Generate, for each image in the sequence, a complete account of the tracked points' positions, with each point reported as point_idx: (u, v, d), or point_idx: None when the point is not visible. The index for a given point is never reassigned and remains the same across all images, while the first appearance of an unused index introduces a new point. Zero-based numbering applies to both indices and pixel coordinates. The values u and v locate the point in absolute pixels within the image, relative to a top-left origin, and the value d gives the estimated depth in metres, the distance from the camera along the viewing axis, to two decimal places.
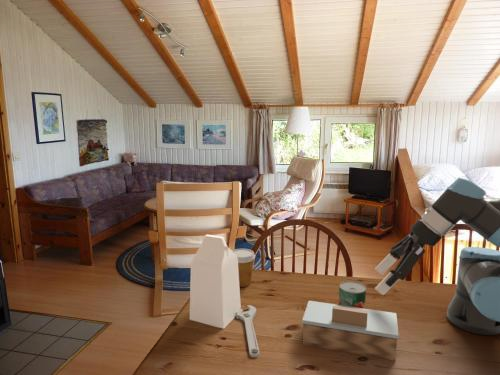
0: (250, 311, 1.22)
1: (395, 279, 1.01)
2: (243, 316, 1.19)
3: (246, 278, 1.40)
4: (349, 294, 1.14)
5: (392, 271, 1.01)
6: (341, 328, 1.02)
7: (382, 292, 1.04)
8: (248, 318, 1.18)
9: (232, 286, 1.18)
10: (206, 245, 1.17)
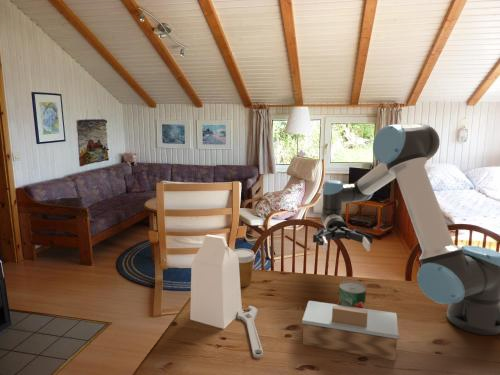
0: (251, 312, 1.21)
1: (319, 239, 1.30)
2: (244, 317, 1.18)
3: (246, 278, 1.40)
4: (349, 294, 1.14)
5: (318, 243, 1.32)
6: (341, 328, 1.02)
7: (324, 244, 1.25)
8: (250, 319, 1.17)
9: (233, 286, 1.18)
10: (206, 245, 1.17)
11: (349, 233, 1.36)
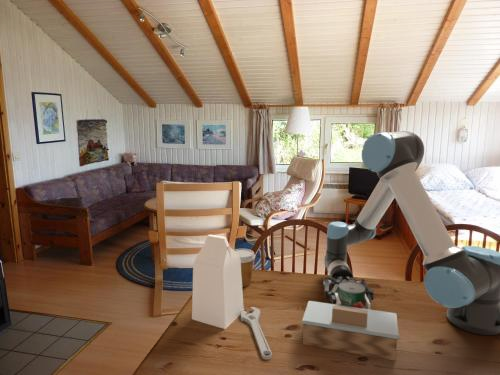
0: (254, 313, 1.20)
1: (331, 296, 1.19)
2: (248, 318, 1.17)
3: (246, 278, 1.40)
4: (348, 294, 1.14)
5: (330, 300, 1.21)
6: (341, 328, 1.02)
7: (338, 304, 1.14)
8: (254, 320, 1.17)
9: (235, 286, 1.18)
10: (208, 245, 1.17)
11: None
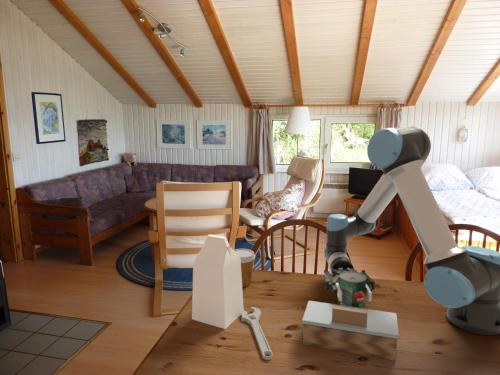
0: (255, 313, 1.20)
1: (332, 286, 1.19)
2: (249, 318, 1.17)
3: (246, 278, 1.40)
4: (349, 283, 1.13)
5: (331, 291, 1.20)
6: (341, 328, 1.02)
7: (339, 293, 1.13)
8: (254, 320, 1.16)
9: (235, 286, 1.18)
10: (208, 245, 1.17)
11: None
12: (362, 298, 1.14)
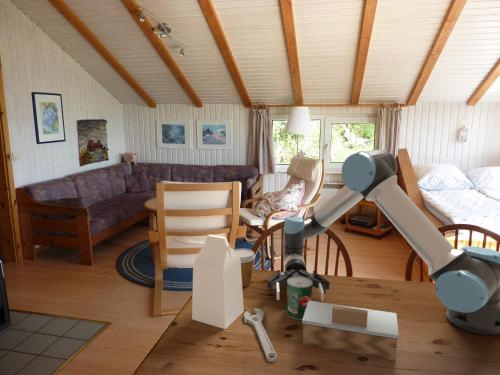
0: (258, 314, 1.20)
1: (272, 286, 1.24)
2: (252, 320, 1.17)
3: (246, 278, 1.40)
4: (294, 288, 1.17)
5: None
6: (341, 328, 1.02)
7: None
8: (257, 322, 1.16)
9: (235, 286, 1.18)
10: (208, 245, 1.17)
11: None
12: (307, 303, 1.18)
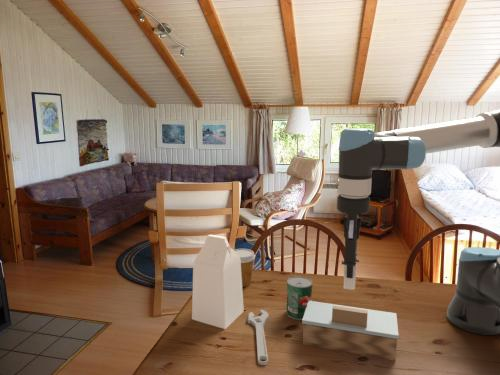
0: (262, 316, 1.18)
1: (351, 268, 0.92)
2: (254, 321, 1.16)
3: (246, 278, 1.40)
4: (294, 288, 1.17)
5: (343, 263, 0.93)
6: (341, 328, 1.02)
7: (351, 287, 0.95)
8: (259, 323, 1.15)
9: (235, 286, 1.18)
10: (208, 245, 1.17)
11: None
12: (307, 303, 1.18)
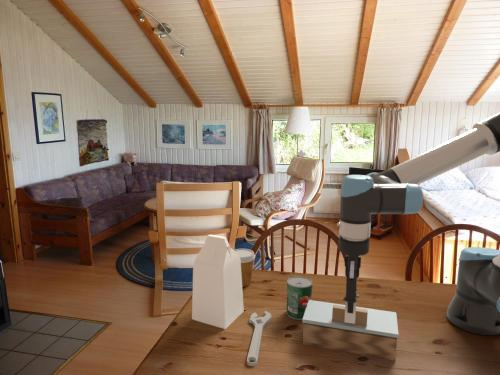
0: (264, 317, 1.18)
1: (351, 304, 0.99)
2: (255, 322, 1.16)
3: (246, 278, 1.40)
4: (294, 288, 1.17)
5: (344, 299, 1.00)
6: (341, 327, 1.02)
7: (352, 321, 1.01)
8: (259, 324, 1.14)
9: (235, 286, 1.18)
10: (208, 245, 1.17)
11: None
12: (307, 303, 1.18)
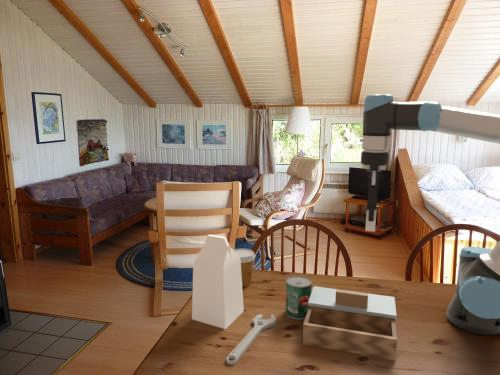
0: (267, 320, 1.16)
1: (372, 212, 1.11)
2: (256, 323, 1.15)
3: (246, 278, 1.40)
4: (295, 288, 1.17)
5: (365, 209, 1.11)
6: (344, 309, 1.11)
7: (372, 229, 1.13)
8: (259, 326, 1.13)
9: (235, 286, 1.18)
10: (208, 245, 1.17)
11: None
12: (307, 302, 1.19)
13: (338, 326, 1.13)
